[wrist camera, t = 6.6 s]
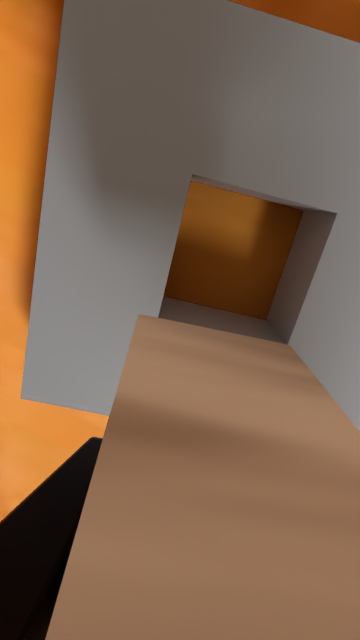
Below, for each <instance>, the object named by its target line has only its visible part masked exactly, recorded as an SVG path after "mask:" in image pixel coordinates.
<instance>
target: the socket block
mask: <svg viewBox="0 0 360 640" xmlns="http://www.w3.org/2000/svg"><path fill="white" fill-rule="evenodd" d="M191 181H195V182H199V183H203V184H206V185H210V186H214V187H218V188H221V189H225V190H229V191H233V192H236V193H240V194H244V195H247V196H251V197H255V198H259V199H262V200H266V201H270V202H274V203H277V204H281V205H285V206H289V207H292V208H296V209H300V210H303V214H302V217H301V220H300V223H299V226H298V229H297V232H296V234H295V237H294V240H293V243H292V246H291V249H290V252H289V255H288V258H287V260H286V263H285V266H284V269H283V272H282V275H281V278H280V281H279V283H278V286H277V289H276V292H275V295H274V298H273V301H272V304H271V307H270V309H269V312H268V315H267V318H266V320H263V319H259V318H255V317H251V316H246V315H242V314H238V313H233V312H229V311H225V310H220V309H216V308H212V307H207V306H203V305H199V304H195V303H190V302H186V301H182V300H177V299H173V298H169V297H164V296H163V295H164V291H165V287H166V283H167V278H168V274H169V270H170V266H171V262H172V257H173V253H174V249H175V245H176V241H177V236H178V232H179V228H180V224H181V220H182V215H183V211H184V207H185V203H186V199H187V194H188V190H189V186H190V182H191ZM139 314H142V315H147V316H152V317H157V318H161V319H166V320H171V321H176V322H181V323H186V324H190V325H195V326H200V327H205V328H210V329H215V330H220V331H224V332H229V333H234V334H239V335H244V336H249V337H253V338H258V339H263V340H268V341H273V342H278V343H283V344H287V345H291V347H292V348H293V349H294V350H295V352H296V353H297V354H298V355H299V357H300V358H301V359H302V360H303V362H304V363H305V364H306V365H307V367H308V368H309V369H310V370H311V372H312V373H313V374H314V375H315V377H316V378H317V379H318V380H319V382H320V383H321V384H322V385H323V387H324V388H325V389H326V390H327V392H328V393H329V394H330V395H331V397H332V398H333V399H334V400H335V402H336V403H337V404H338V405H339V407H340V408H341V409H342V410H343V412H344V413H345V414H346V415H347V417H348V418H349V419H350V420H351V422H352V423H353V424H354V425H355V427H356V428H357V429H358V430H359V432H360V43H358V42H355V41H352V40H349V39H346V38H343V37H340V36H337V35H334V34H331V33H327V32H324V31H321V30H318V29H315V28H312V27H309V26H306V25H303V24H300V23H296V22H293V21H290V20H287V19H284V18H281V17H278V16H275V15H272V14H269V13H266V12H262V11H259V10H256V9H253V8H250V7H247V6H244V5H241V4H238V3H235V2H231V1H228V0H64V6H63V15H62V24H61V33H60V43H59V52H58V61H57V70H56V79H55V88H54V98H53V107H52V116H51V125H50V134H49V143H48V153H47V162H46V171H45V180H44V189H43V198H42V207H41V217H40V226H39V235H38V244H37V253H36V262H35V272H34V281H33V290H32V299H31V308H30V317H29V327H28V336H27V345H26V354H25V363H24V372H23V382H22V391H21V399H26V400H31V401H36V402H41V403H46V404H52V405H57V406H62V407H67V408H72V409H77V410H82V411H87V412H93V413H98V414H103V415H108V416H110V412H111V409H112V405H113V402H114V398H115V395H116V391H117V388H118V384H119V381H120V377H121V374H122V370H123V367H124V363H125V360H126V356H127V353H128V349H129V346H130V342H131V339H132V335H133V332H134V328H135V325H136V322H137V318H138V315H139Z"/></svg>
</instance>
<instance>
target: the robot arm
mask: <svg viewBox="0 0 360 640" xmlns="http://www.w3.org/2000/svg"><path fill="white" fill-rule="evenodd" d="M102 440H103V438H97V437H92V438H90V439H89V440H88V441H87V442H86V443H84V444H83V445H82V446H81V447H80V448H79V449H78V450H77V451H76V452H75V453H74V454H73V455H72V456H71V457H69V458H68V459H67V460H66V461H65V462H64V463H63V464H62V465H61V466H60V467H59V468H58V469H57V470H55V471H54V472H53V473H52V474H51V475H50V476H49V477H48V478H47V479H46V480H45V481H44V482H43V483H42V484H40V485H39V486H38V487H37V488H36V489H35V490H34V491H33V492H32V493H31V494H30V495H29V496H28V497H26V498H25V499H24V500H23V501H22V502H21V503H20V504H19V505H18V506H17V507H16V508H15V509H14V510H13V511H11V512H10V513H9V514H8V515H7V516H6V517H5V518H4V519H3V520H2V521H1V522H0V640H45V639H46V635H47V632H48V628H49V625H50V621H51V618H52V614H53V611H54V607H55V604H56V601H57V597H58V594H59V590H60V587H61V583H62V580H63V576H64V573H65V569H66V566H67V562H68V559H69V555H70V552H71V548H72V545H73V541H74V538H75V534H76V531H77V527H78V524H79V520H80V517H81V513H82V510H83V506H84V503H85V499H86V496H87V492H88V489H89V485H90V482H91V478H92V475H93V471H94V468H95V465H96V461H97V458H98V454H99V451H100V447H101V444H102Z"/></svg>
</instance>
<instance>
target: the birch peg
mask: <svg viewBox="0 0 360 640" xmlns="http://www.w3.org/2000/svg"><path fill="white" fill-rule="evenodd" d="M45 640H360V432H359V430H358V429H357V428H356V427H355V425H354V424H353V423H352V422H351V420H350V419H349V418H348V417H347V415H346V414H345V413H344V412H343V410H342V409H341V408H340V407H339V405H338V404H337V403H336V402H335V400H334V399H333V398H332V397H331V395H330V394H329V393H328V392H327V390H326V389H325V388H324V387H323V385H322V384H321V383H320V382H319V380H318V379H317V378H316V377H315V375H314V374H313V373H312V372H311V370H310V369H309V368H308V367H307V365H306V364H305V363H304V362H303V360H302V359H301V358H300V357H299V355H298V354H297V353H296V352H295V350H294V349H293V348H292V347H291V345H287V344H283V343H278V342H273V341H268V340H263V339H258V338H253V337H249V336H244V335H239V334H234V333H229V332H224V331H220V330H215V329H210V328H205V327H200V326H195V325H190V324H186V323H181V322H176V321H171V320H166V319H161V318H157V317H152V316H147V315H142V314H139V315H138V318H137V322H136V325H135V328H134V332H133V335H132V339H131V342H130V346H129V349H128V353H127V356H126V360H125V363H124V367H123V370H122V374H121V377H120V381H119V384H118V388H117V391H116V395H115V398H114V402H113V405H112V409H111V412H110V416H109V419H108V423H107V426H106V430H105V433H104V437H103V440H102V444H101V447H100V451H99V454H98V458H97V461H96V465H95V468H94V471H93V475H92V478H91V482H90V485H89V489H88V492H87V496H86V499H85V503H84V506H83V510H82V513H81V517H80V520H79V524H78V527H77V531H76V534H75V538H74V541H73V545H72V548H71V552H70V555H69V559H68V562H67V566H66V569H65V573H64V576H63V580H62V583H61V587H60V590H59V594H58V597H57V601H56V604H55V607H54V611H53V614H52V618H51V621H50V625H49V628H48V632H47V635H46V639H45Z"/></svg>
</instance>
